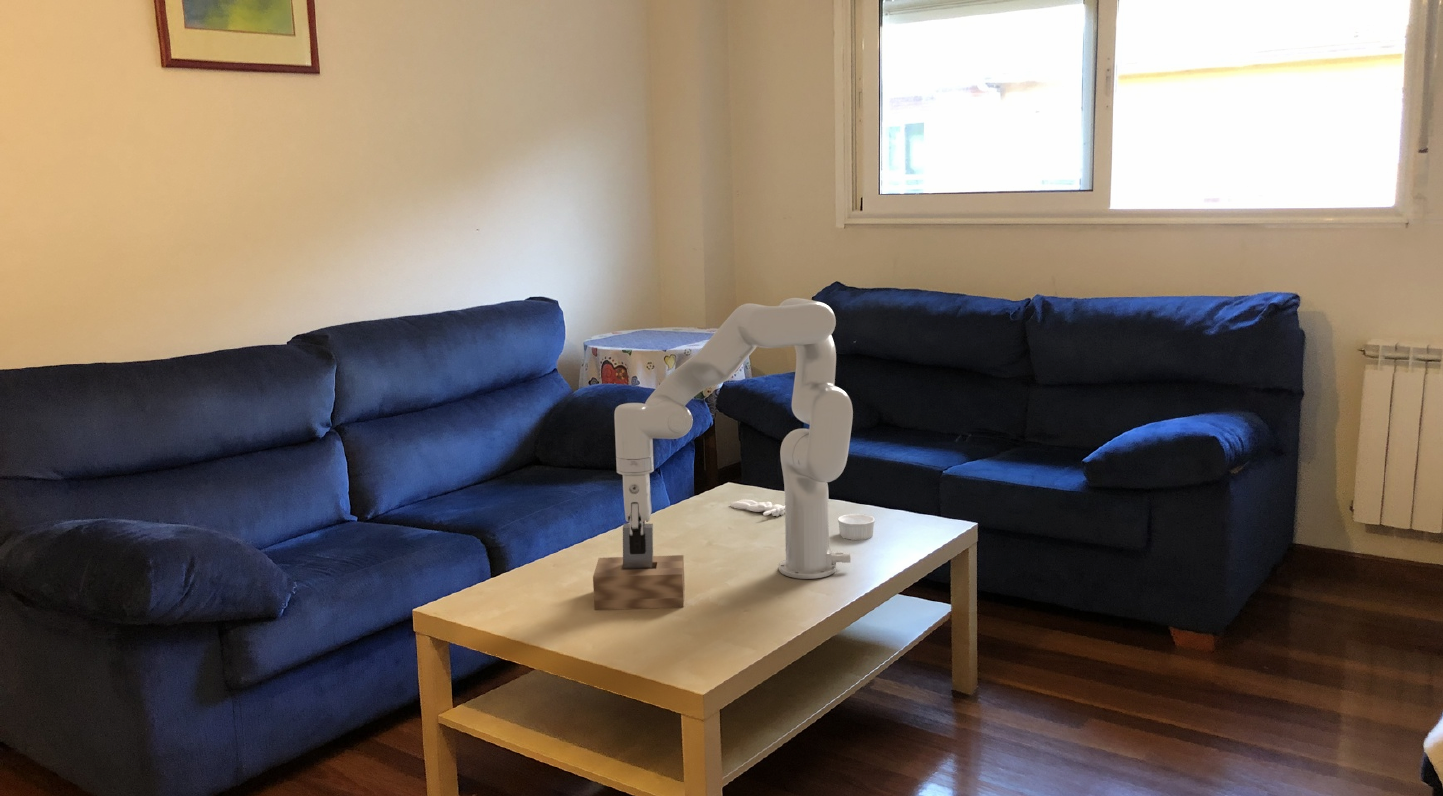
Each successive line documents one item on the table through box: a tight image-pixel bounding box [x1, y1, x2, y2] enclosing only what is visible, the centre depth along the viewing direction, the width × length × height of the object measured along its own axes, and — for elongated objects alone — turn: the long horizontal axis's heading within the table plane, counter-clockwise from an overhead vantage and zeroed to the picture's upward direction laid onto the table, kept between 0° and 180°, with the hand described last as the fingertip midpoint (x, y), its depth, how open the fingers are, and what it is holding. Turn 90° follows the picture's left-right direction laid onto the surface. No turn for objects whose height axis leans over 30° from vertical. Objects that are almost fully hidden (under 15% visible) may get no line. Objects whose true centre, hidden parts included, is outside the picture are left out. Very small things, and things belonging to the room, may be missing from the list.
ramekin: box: [837, 513, 876, 541], centre depth 266 cm, size 9×9×4 cm
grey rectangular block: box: [622, 523, 654, 570], centre depth 227 cm, size 6×3×9 cm, turn 91°
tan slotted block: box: [592, 554, 686, 611], centre depth 228 cm, size 18×12×7 cm, turn 91°
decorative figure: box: [729, 499, 785, 517], centre depth 289 cm, size 4×12×18 cm
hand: (638, 549), depth 227 cm, fingers closed on grey rectangular block, 3 cm apart
